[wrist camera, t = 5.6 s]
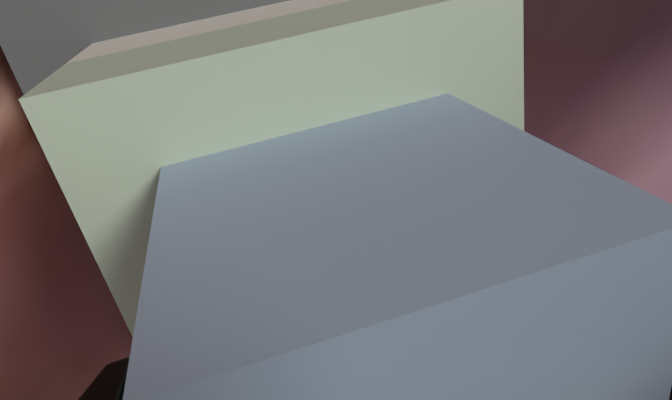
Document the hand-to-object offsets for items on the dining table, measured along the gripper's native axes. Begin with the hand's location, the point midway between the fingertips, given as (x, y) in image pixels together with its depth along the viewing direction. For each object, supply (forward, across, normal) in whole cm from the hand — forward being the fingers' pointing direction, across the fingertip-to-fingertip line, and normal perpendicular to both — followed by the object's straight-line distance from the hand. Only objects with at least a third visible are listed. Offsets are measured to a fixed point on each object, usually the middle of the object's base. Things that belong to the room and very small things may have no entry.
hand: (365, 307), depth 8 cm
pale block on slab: (+8, 0, 0) cm, 8 cm away
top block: (+2, 0, 0) cm, 2 cm away
